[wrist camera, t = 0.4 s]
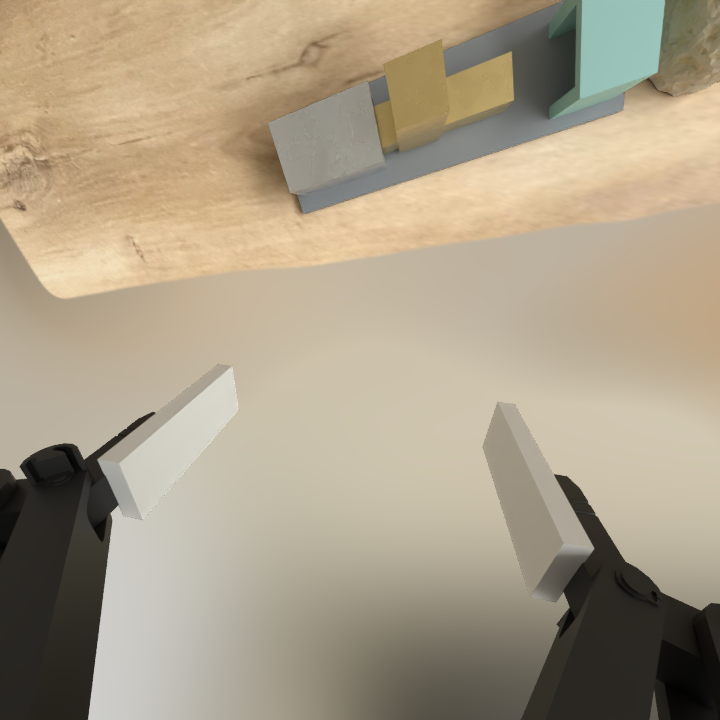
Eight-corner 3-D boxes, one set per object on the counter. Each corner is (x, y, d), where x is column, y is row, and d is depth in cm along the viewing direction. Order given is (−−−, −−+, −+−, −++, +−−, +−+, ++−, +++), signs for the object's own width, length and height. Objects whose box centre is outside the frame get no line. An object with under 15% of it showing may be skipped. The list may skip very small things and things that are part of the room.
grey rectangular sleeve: (288, 136, 31) (267, 122, 27) (374, 102, 29) (367, 80, 24) (306, 196, 34) (290, 193, 29) (387, 168, 31) (383, 160, 27)
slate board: (277, 124, 32) (274, 122, 31) (626, -22, 24) (633, -29, 23) (305, 214, 35) (303, 213, 35) (617, 112, 27) (623, 109, 27)
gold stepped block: (299, 142, 31) (260, 117, 23) (500, 63, 26) (539, -4, 18) (311, 184, 33) (279, 174, 25) (503, 117, 28) (541, 77, 20)
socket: (548, 24, 25) (582, -24, 20) (617, -4, 24) (671, -62, 19) (549, 120, 28) (579, 99, 23) (611, 99, 26) (657, 72, 22)
